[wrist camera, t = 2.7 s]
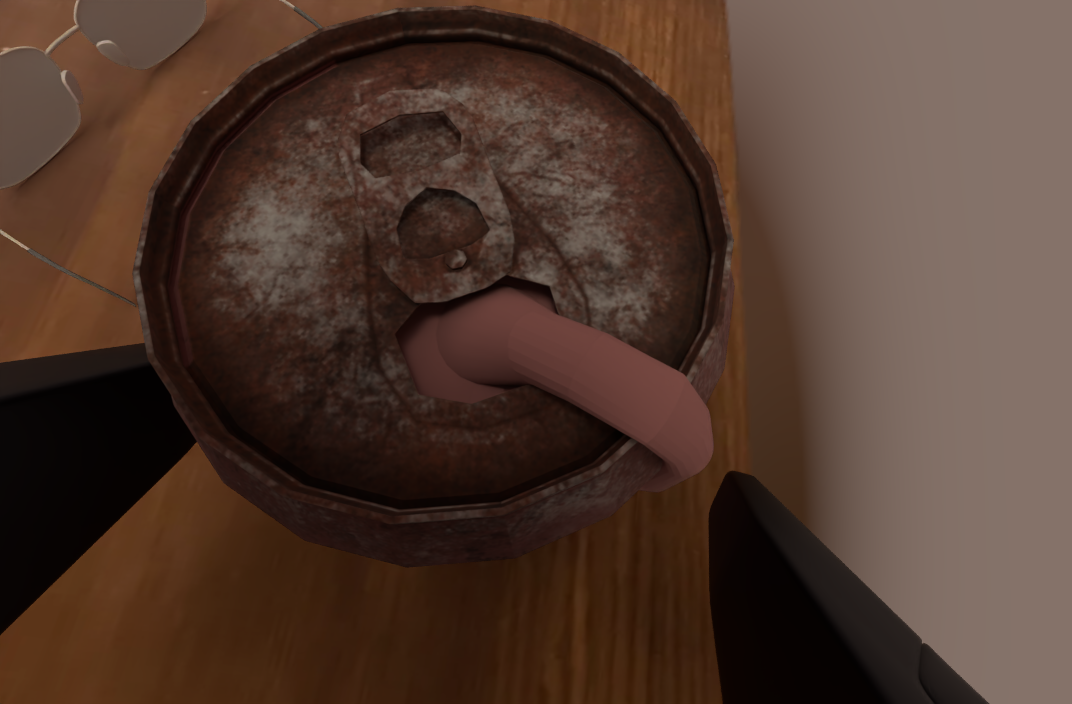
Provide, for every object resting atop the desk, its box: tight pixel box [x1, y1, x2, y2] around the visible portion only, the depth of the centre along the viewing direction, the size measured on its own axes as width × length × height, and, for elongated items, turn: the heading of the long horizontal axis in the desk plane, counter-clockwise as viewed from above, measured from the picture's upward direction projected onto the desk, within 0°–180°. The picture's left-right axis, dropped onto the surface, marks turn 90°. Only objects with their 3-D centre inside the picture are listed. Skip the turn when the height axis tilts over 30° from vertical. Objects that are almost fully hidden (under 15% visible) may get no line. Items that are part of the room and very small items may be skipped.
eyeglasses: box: [0, 0, 323, 307], centre depth 20 cm, size 14×8×4 cm, turn 149°
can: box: [132, 6, 735, 567], centre depth 11 cm, size 6×6×14 cm
